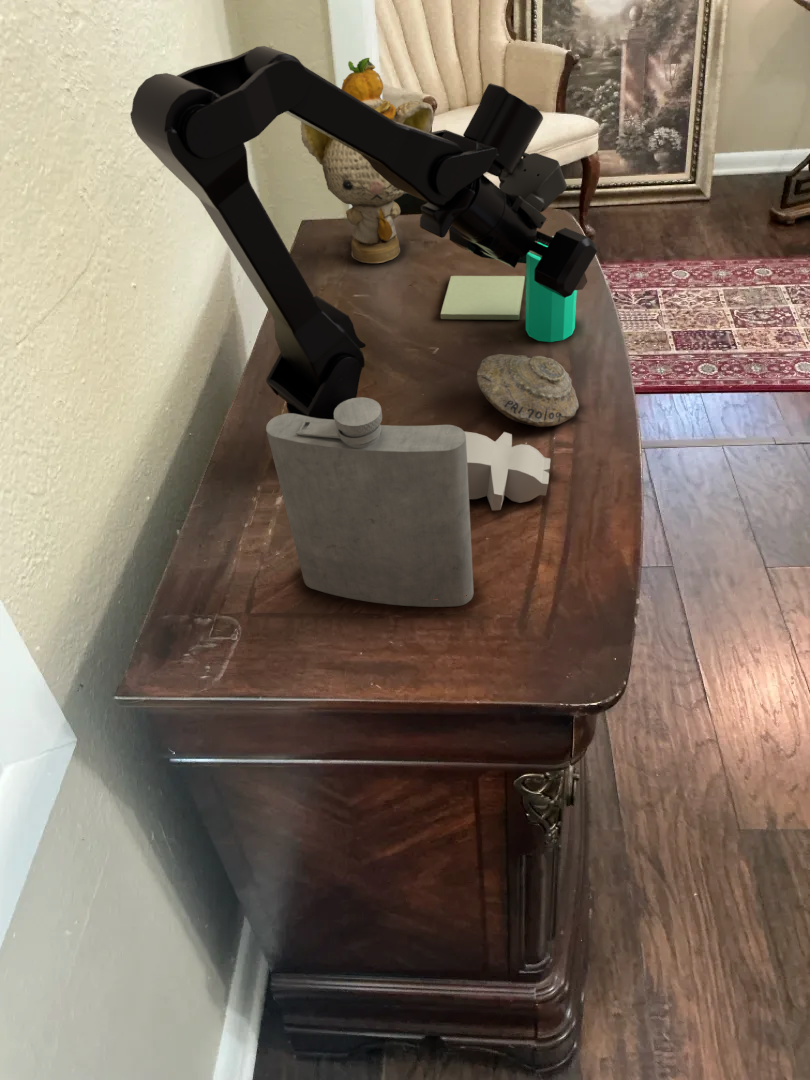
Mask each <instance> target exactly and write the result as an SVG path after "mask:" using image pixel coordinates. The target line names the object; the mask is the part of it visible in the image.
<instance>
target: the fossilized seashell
mask: <svg viewBox="0 0 810 1080" xmlns="http://www.w3.org/2000/svg"><path fill="white" fill-rule="evenodd" d="M476 382H477V384H478V386H479V389H480V391H481V393H482V394H483V396H484V397H485V399H486V400H487V401H488V402H489V403H490V404H491V405H492V407H494V408H495V410H497V411H498V412H500V414H503V415H504V416H505V417H507V418H508V419H510V420H512V421H514V422H516V423H521V424H524V425H529V426H534V427H538V428H539V427H540V428H541V427H542V428H545V427H554V426H559V425H562V424H563V423H565V422H567V421H569V420H571V419H572V418H573V417H574V416H575V415H576V413H577V410H579V407H580V405H579V401H578V398H577V394H576V390H575V388H574V387H573V385H572V383H573V381H572V378H571V377H570V374H569V373H568V372H567V371H566V370H565V368H564V366H562V364H560V363H559V362H558V361H556V359H553V358H551V357H545V356H543V355H535V356H532V357H528V356H527V355H525V354H524V355H520V354H518V355H513V354H504V353H497V354H493V355H489V356H487V357H484V359H482V361H481V362H480V364H479V366H478V369H477V372H476Z"/></svg>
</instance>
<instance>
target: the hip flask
mask: <svg viewBox="0 0 810 1080" xmlns="http://www.w3.org/2000/svg"><path fill="white" fill-rule="evenodd" d="M382 411H383V410H382V406H381V405H380V403H379V402H378V401H376V400H375V399H373V398H370V397H363V396H361V397H356V398H352V399H348V400H346V401H344V402H342V403H340V404H339V405H338V406H337V407H336V408H335V410H334V420H331V419H318V418H313V417H308V416H303V415H299V414H294V413H288V412H287V413H281V414H279V415H277V416H276V415H275V416H274V417H273V418H271V419H270V420H269V421H268V422H267V423H266V426H265V431H266V434H267V439H268V443H269V447H270V450H271V455H272V459H273V464H274V466H275V470H276V475H277V479H278V483H279V487H280V490H281V491H280V492H281V494H282V499H283V503H284V507H285V511H286V515H287V519H288V524H289V527H290V530H291V535H292V539H293V542H294V546H295V551H296V554H297V555H296V556H297V559H298V564H299V567H300V570H301V574H302V579H303V583H304V584H305V585H306V587H308V588H310V589H311V590H315V591H318V592H322V593H325V594H329V595H332V596H337V597H341V598H346V599H350V600H356V601H361V602H367V603H368V602H370V603H376V604H383V605H384V604H385V605H392V606H403V607H404V606H406V607H422V608H423V607H424V608H425V607H427V608H446V607H449V608H450V607H451V608H452V607H461V606H464V605H467V604H468V603H469V602H470V601H472V599H473V597H474V593H475V592H474V591H475V590H474V573H473V571H474V570H473V551H472V532H471V512H470V511H471V510H470V509H471V507H470V499H469V488H468V468H467V448H466V434H465V432H466V431H464V430H463V428H461V427H459V426H456V425H453V424H435V425H434V424H433V425H388V424H387V425H386V424H381V423H382V421H383V413H382ZM466 595H467V596H466ZM464 596H465V597H464ZM459 598H460V599H459ZM433 599H438V600H433Z"/></svg>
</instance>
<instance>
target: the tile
mask: <svg viewBox="0 0 810 1080" xmlns="http://www.w3.org/2000/svg"><path fill="white" fill-rule="evenodd" d="M525 285H526V275H451V276H450V278H449V282H448V285H447V289H446V292H445V296H444V300H443V302H442V303H443V304H442V307H441V309H440V310H441V311H440V319H441V320H476V321H477V320H480V321H481V320H484V321H485V320H487V321H489V320H490V321H519V320H520V315H521V308H522V303H523V296H524V290H525Z"/></svg>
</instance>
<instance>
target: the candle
mask: <svg viewBox="0 0 810 1080" xmlns="http://www.w3.org/2000/svg"><path fill="white" fill-rule="evenodd" d="M551 237H554V235H552V236H551ZM539 244H541V245H543V244H542V243H539ZM543 246H545V245H543ZM546 247H548V246H546ZM540 259H541V257H539V256H536V255H534V254H532V253H530V252H528V253H527V255H526V264H525V270H526V271H525V331H526V333H527V335H528V337H530V338H532V339H534V340H536V341H538V342H545V343H546V342H547V343H554V342H560V341H564V340H566V339H568V338H569V337H571V336H572V335H573V334H574V331H575V330H576V314H577V295H578V290H574V292H573V293H572V295H570V296H568V297H566V298H564V297H562V296H560V295H558V294H556V293H554V292H552V291H550V290H548V289H546V288H544V287H543V286H541V285H539V284H538V283H537V282H535V281H534V273H535V268H536V266H537V264H538V263H539V261H540Z"/></svg>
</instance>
